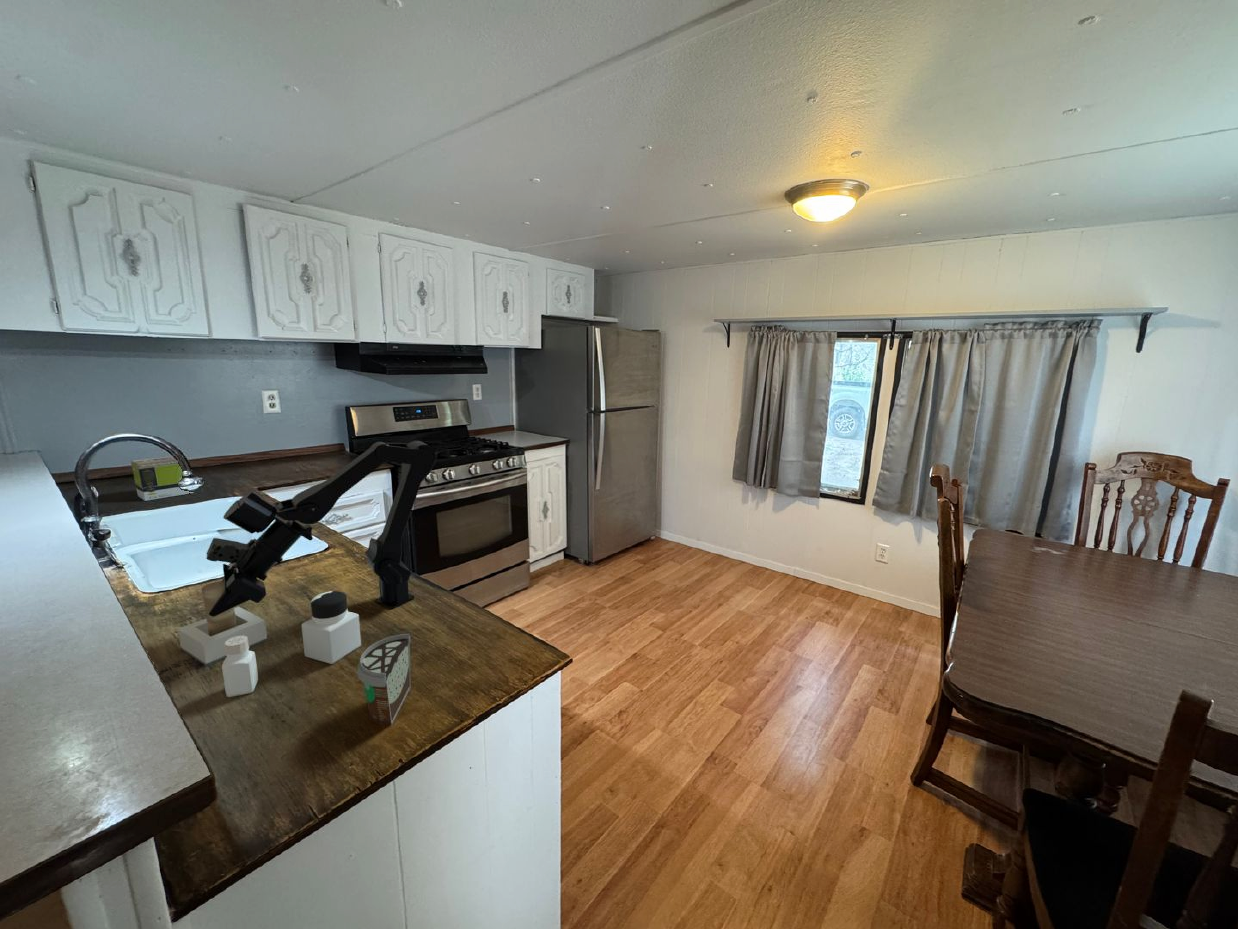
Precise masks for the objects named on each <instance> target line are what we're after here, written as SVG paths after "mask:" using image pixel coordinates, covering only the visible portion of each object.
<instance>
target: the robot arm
mask: <svg viewBox="0 0 1238 929" xmlns="http://www.w3.org/2000/svg"><path fill="white" fill-rule="evenodd" d="M437 458H438V454H437V451H436V449H435V448H434V447H433V446H431V445H429V444H426V443H424V442H423V441H421V440H413V441H410V442H409V443H402V442H383V441H377V442H375V443H373V444H372V445H371V446H370V447H369V448H368V449H367V450H365V451H363V453H361V454H360V455H359V456H357V457H356V458H355V459H353V460H352V461H351V462H349V463H348V464H346V465H345V466H344V467H342V468H341V469H340V470H338V471H337V472H336V473H334V474H333V475H332V476H330V478H328V479H326V480H325V481H322V482H321V483H318V484H315V485H312V486H310V487H308V488H306V489H304V490H302V491H301V492H298V493H297V494H295V495H294V496H293V497H292V498H289V499H285V500H282V501H281V500H279V501H277V502H273V503H271V502H270V501H268V500H266V499H264V498H263V497H262V496H261V495H260V494H258V493H257V492H255V491H254V490H249V492H248V493H247V494H245V495H243V496H241V498H239V499H237V500H235V501H234V502H233V503H232V504H231V506H230V507H229V508H228V509H227V510H226V512H225V513H224V515H223V517H222V518H223V519H224V520H226V521H228V522H230V523H232V524H233V525H235V526H237V527H239V528H241V529H242V530H244V531H246V532H248V533H249V534H251V535H252V534H254V533H257V534H259V533H261V535H259V537H258V538H257V539H256V538H253V539H249V541H247V543H244V542H239V541H235V540H230V539H224V538H218V537H214V538H212V540H211V542H210V545H209V547H208V549H207V551H206V553H205V554H206V560H208V561H210V562H221V563H222V562H223V564H222V571H223V577H222V579H221V581H224V586H225V591H224V592H223V593H222V595H221V596H220V598H219V599H218V600H217V602H216V603H215V605H214V606H213V608H212V609H211V611H210V612H209V615H210V616H212V617H215V616H217V615H219V614H221V613H223V612H225V611H227V610H229V609H231V608H233V607H234V608H236V607H238V606H239V605H241V604H244V603H246V602H249V601H251V602H253V603H255V604H259V603H260V602H262V600H264V598H265V597H266V596H267V589H266V584H265V582H264V581H265V580H266V579H267V577H268V575H267V573H268V572H269V571H271V569H272V568H273V567H274V566H275V565H276V564H278V565H280V564H281V563H282V562H283V560H284V559H283V557H284V555H285V554H286V553H288V551H289V550H290V548H291V547H293V546H294V545H295V543H296V542H298V540H300V538H301V537H303V538H305V539H306V540H308V541H312V540H313V526H312V525H315V524H317V523H319V522H321V520H323V519H324V518H325V517H326V515H327V514H328V513H329V512H330V511H331V510H333V508H334V506H335V505H336V503H337V501H338V500H339V499H340V498H341V497H342V496H343V495H344V494H346V493H347V492H348V491H350V489H352V488H353V487H355V486H356V485H357V484H358V483H360V482H361V481H362V480H364V479H365V478H366V477H368V476H369V475H370V474H372V472H374V471H375V470H377V469H378V468H379V467H380V466H382V465H383V464H384V463H386V462H388V463H389V462H392V463H397V464H398V463H399V464H401V478H400V481H399V484H398V485H397V486H398V487H397V489H396V491H395V495H394V497H393V501H392V504H391V506H390V509H389V513H388V515H387V517H386V522H385V523H384V527H383V530H382V532H381V534H380V535H379V536H378V537H377V538H372V537H370V539H369V545H368V547H367V550H365V552H364V555H365V556H366V563H367V564H368V566H369V567H370V568H371V569H372V571H373V572H374V574H375V575H377V576H378V583H379V585H378V586H379V596H380V597H377V598H375V599H374V603H377V604H379V605H381V606H384V607H387V608H389V609H394V608H396V607H399V606H400V605H402V604H406V602H409V601H411V600H413V599H415V595H413V594H411V593H409V590H410V589H409V580H410V577H411V575H412V571H411V570H410V569H409V568H408V567H407V565H406V564H405V563H403V561H402V555H403V547H402V546H403V544H402V540H403V537H404V534H405V532H406V531H405V530H406V528H407V525H408V522H409V519H410V516H411V512H412V511H413V507H414V505H415V502H416V499H417V496H418V493H419V490H420V488H421V484H422V483H423V481H424V480H425V478H427V477H428V475H429V474H430V473H431V472H432V469H433V467H434V466H435V464H436V462H437ZM262 532H263V533H262ZM226 563H228V564H226Z"/></svg>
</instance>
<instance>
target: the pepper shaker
mask: <svg viewBox="0 0 1238 929" xmlns="http://www.w3.org/2000/svg"><path fill="white" fill-rule="evenodd" d="M225 651H226V655H227V657H226V658H225V659H223V660H224V661H223V662H222V665H221V669H222V674H223V675H222V677H223V683H224V689H225V691H224V692H225V695H226V697H228V698H231V697H237V696H242V695H247V694H251V693H253V692H254V690H255V688H256V686H257V684H258V681H259V674H258V665H257V659H256V658H257V657H256V653H255V651H252V650H250V648H249V646H248V639H247V637H246V636H236V637H233V638H230V639H228V640H227V641H226V642H225Z"/></svg>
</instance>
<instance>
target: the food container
mask: <svg viewBox="0 0 1238 929" xmlns="http://www.w3.org/2000/svg"><path fill="white" fill-rule="evenodd" d="M411 643H412V640H411V636H410V633H402V634H397V635H392V636H388V637H385V638H383V639H380V640H378V641H376V642H374V643H373V644H371V645H370V646H369V647H367V648H366V649H364V651H363V653H362V654H361V656H360V658H359V661H358V665H357V670H356V671H357V677H358V679H359V680H360V681H361V682H362V683H363V687H364V691H365V692H364V693H365V699H366V704H367V708H368V714H369V717H370V719H371V720H372V721H373V722H375V723H378V724H379V725H380V724H381V725H389V726H391V725H393V723H394V721H395V718H396V717H397V715H398V713H399V711H400V709H401V707H402V705H403V703H404V701H405V699H406V697H407V695H408V693H409V691H410V689H411V658H410V657H411V654H410V653H411V648H410V644H411Z"/></svg>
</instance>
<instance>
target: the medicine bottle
mask: <svg viewBox="0 0 1238 929" xmlns="http://www.w3.org/2000/svg"><path fill="white" fill-rule="evenodd" d="M310 610H311V618H310V619H308V620H306V621H304V622H302V624H301V634H302V642H303V649H304V650H303V651H304V656H305V657H306V658H309V659H313V660H316V661H320V662H322V663H323V662H324V663H326V664H329V665H334V664H335V663H337V662H338V661H340V660H341V659H342V658H344V657H346V656H348V655H349V654H350V653H352V652H353V651H354V650H357V649H359V647H361V646H362V639H361V638H362V637H361V627H360V615H359V614H358V613H355V612H351V611H349V610H348V599H347V594H346V593H345V592H343V591H338V590H331V591H330V590H329V591H326V592H323V593H320V594H317V595H315V596H314V597H313V598H312V599H311V601H310Z"/></svg>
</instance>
